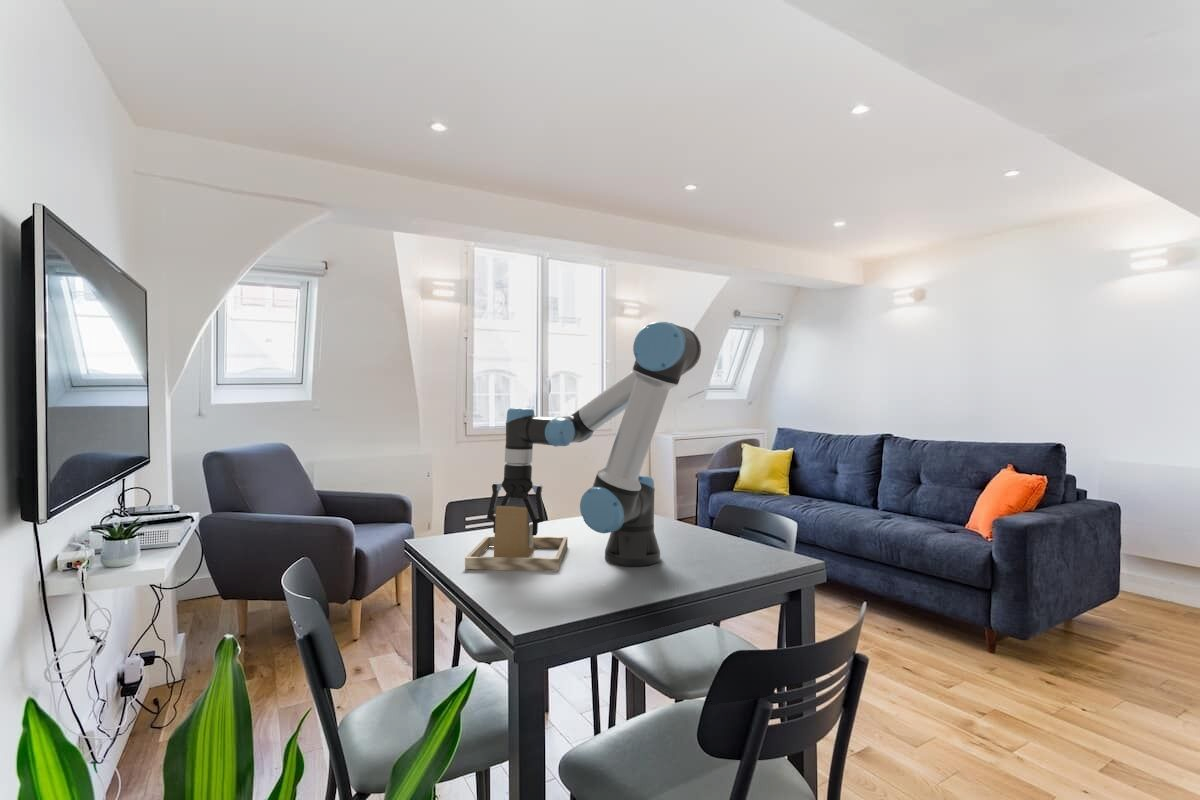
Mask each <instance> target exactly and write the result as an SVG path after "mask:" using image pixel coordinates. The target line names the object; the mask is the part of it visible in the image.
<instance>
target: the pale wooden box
mask: <svg viewBox="0 0 1200 800" xmlns="http://www.w3.org/2000/svg"><path fill="white" fill-rule="evenodd" d="M494 538H495V535H486V536H485V537H484V539H482V540H481V542H479V543H478V544H477V545H476V546H475V547H474V548H473V549H472V550H471V551H470V552H469V553H468V554H467V556H465V557H464V570H466V569H486V570H485V571H534V570H560V567H561V565H562V562H563V559H564V557H565V554H566V552H567V549H568V537H567V536H533V545H534V547H538V548H542V549H558V550H557V551H556V555H555V557H529V558H522V557H494V556H483V555H482V554H483V553H484V554H485V552H486V551H487V550H488V549H489V548H490V547H489V546H494ZM488 547H489V548H488ZM487 548H488V549H487ZM538 548H537V549H538ZM486 549H487V550H486ZM485 550H486V551H485ZM481 555H482V556H481ZM480 556H481V557H480Z"/></svg>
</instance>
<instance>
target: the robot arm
mask: <svg viewBox="0 0 1200 800" xmlns="http://www.w3.org/2000/svg"><path fill="white" fill-rule="evenodd" d="M701 345H702V344H701V342H700V340H699V338H698V336H697V335H696V333H694V331H692V330H690V329H689V328H687V327H684V326H680V325H677V324H674V323H673V322H668V321H655V322H651V323H649V324H647V325H645V326H644V327H643V328H641V329H640V331H639V332H638V333H637V335H636V336H635V338H634V341H633V347H632V350H633V351H632V352H633V355H634V358H635V361H634V364H633V367H632V370H631V371H630V372H628V373H627V374H626V375H625V376H623V377H621V378H620V379H619V380H618V381H616V382H615V383H613V384H612V385H610V386H609V387H608V388H607V389H606V390H604V391H602V392H601V393H600V394H598V395H597V396H595V397H594V398H593V399H590V401H589V402H587V403H585V405H583V406H581V407H580V408H579V409H578V410H576V411H575V412H574V413H572V414H571V415H569V416H568V415H567V416H538V415H535V411H534V409H533V408H530V407H529V408H527V407H510V408H509V409H507V411H506V412H507V413H506V421H505V448H504V463H505V465H504V469H503V470H504V471H503V481H502V482H494V483H493V484H492V485H491V489H492V493H491V499H490V502H489V507H488V512H487V515H486V519H487V520H491V521H492V522H493V529H492V532H493V534H495V516H496V514H495V512H496V506H497V502H498V497H499V492H500V491H501V490H502V488H503V490H504V492H505V493H506V494H505V495H504V497H503V500H502V501H501V503H500V505H499V506H508V503H509V501H510V500H511V499H516V498H518V499H522V501H523V502H524V504H525V508H527V511H528V516H529V517H530V520H531V522H529V525H530V532H529V548H532V547H533V537H535V536H537V535H538V533H539V532H538V530H539V523H543V522H544V520H545V510H544V504H543V497H542V493H543V491H542V490H543V485H542V484H539V485H538V484H533V481H532V471H533V466H532V465H531V464H532V463H533V446H534V445H544V446H553V447H556V448H558V447H567V446H569V445H570V443H571V444H572V443H582V442H585V441H587V440H588V439H589V440H590V438H591V437H592V436H593V434H594V432H595V431H596V430H597V429H600V428H601V427H603V426H604V425H605V424H606V423H608V422H609V421H611V420H612V419H614V418H615V417H617V416H618V415H620V414H621V413H623V416H622V418H621V421H620V424H619V427H618V430H617V434H616V437H615V438H614V442H613V443H612V448H611V450H610V454H609V457H608V459H607V462H606V465H605V467H604V468H601V469H600V470H598V472H597V473H596V476H595V478H594V481H593V485H592V487H591V488H588V489H587V490H586V491H585V492H584V493H583V495H582V496H581V499H580V501H579V511H580V515H581V517H582V519H583V521H584V523H585V524H586V525H587V527H588V528H589V529H591V530H592V531H594V532H597V533H599V534H609V537H608V541H607V543H606V547H605V550H604V560H605V561H606V562H607V563H611V564H613V565H616V566H617V565H618V566H625V567H646V566H651V565H655V564H657V563H659V562H660V561H661V549H660V546H659V543H658V539H657V537H656V533H655V491H656V488H655V483H654V482H655V481H654V478H653V477H652V476H648V475H640V474H641V471H642V468H643V466H644V463H645V459H646V457H647V454H648V451H649V449H650V446H651V443H652V440H653V437H654V434H655V432H656V429H657V425H658V423H659V420H660V417H661V414H662V412H663V408H664V407H665V403H666V400H667V397H668V395H669V392H670V390H671V389H673V388H675V387H677V386H678V385H679V383H680V379H681V377H682V376H683V375H684V374H686V373H688V372H689V371H691V370H692V369H693V368H694V367H695V366H696V365H697V364H698V362H699V360H700V357H701V354H702V346H701ZM531 490H533V493H534V494H535V499H536V500H535V501H536V507H537V513H536V511H535V508H534V506H533V503H532V501H531V499H530V498H531V497H530V495H529V493H530V491H531ZM537 515H538V516H537Z"/></svg>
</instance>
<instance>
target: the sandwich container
mask: <svg viewBox="0 0 1200 800" xmlns="http://www.w3.org/2000/svg"><path fill="white" fill-rule="evenodd" d="M495 515H496V516H495V533H494V536H495V538H494V547H493V557H522V558H530V557H531V555H532V554H533V553H534V551H535V548H534V545H533V547H532V548H529V532H530V520H529V512H528V510H527V507H526V506H525V507H522V506H514V505H513V506H511V505H506V506H500V505H496V506H495ZM531 553H532V554H531ZM529 556H530V557H529Z"/></svg>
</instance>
